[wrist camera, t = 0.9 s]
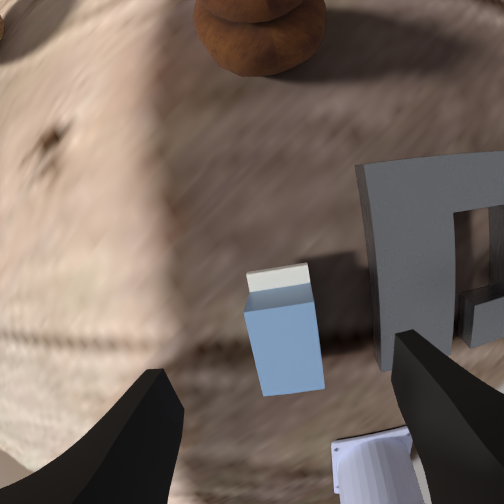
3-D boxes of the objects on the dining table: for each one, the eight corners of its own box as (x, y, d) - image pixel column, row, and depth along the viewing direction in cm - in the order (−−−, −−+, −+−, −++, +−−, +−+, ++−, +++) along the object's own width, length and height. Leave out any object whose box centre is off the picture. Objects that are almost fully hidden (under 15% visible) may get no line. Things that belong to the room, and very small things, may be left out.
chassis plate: (529, 309, 20) (544, 320, 18) (373, 354, 23) (381, 372, 20) (529, 149, 17) (548, 149, 15) (354, 165, 20) (363, 164, 17)
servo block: (319, 351, 23) (326, 402, 17) (271, 358, 24) (266, 409, 18) (304, 251, 21) (310, 281, 16) (251, 260, 22) (239, 292, 16)
